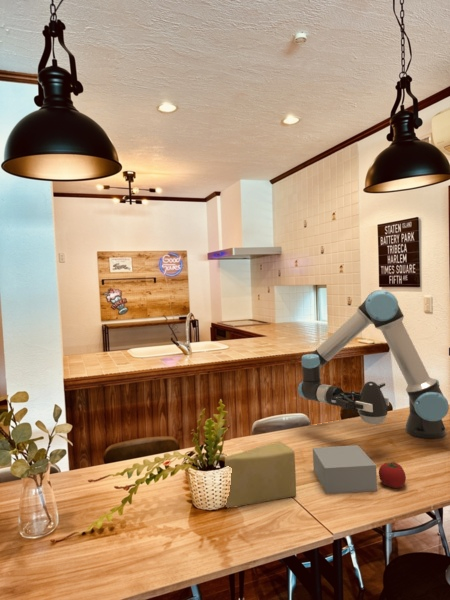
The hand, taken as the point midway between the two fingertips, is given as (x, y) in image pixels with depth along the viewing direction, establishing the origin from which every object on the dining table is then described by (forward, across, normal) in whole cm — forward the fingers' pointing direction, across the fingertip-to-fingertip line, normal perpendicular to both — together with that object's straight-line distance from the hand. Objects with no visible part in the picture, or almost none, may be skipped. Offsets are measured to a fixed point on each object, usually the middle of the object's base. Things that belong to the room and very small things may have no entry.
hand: (380, 404), depth 143 cm
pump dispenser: (-3, 0, -7) cm, 8 cm away
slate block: (0, +24, -20) cm, 31 cm away
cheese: (-10, +52, -20) cm, 57 cm away
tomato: (+12, +15, -20) cm, 28 cm away
